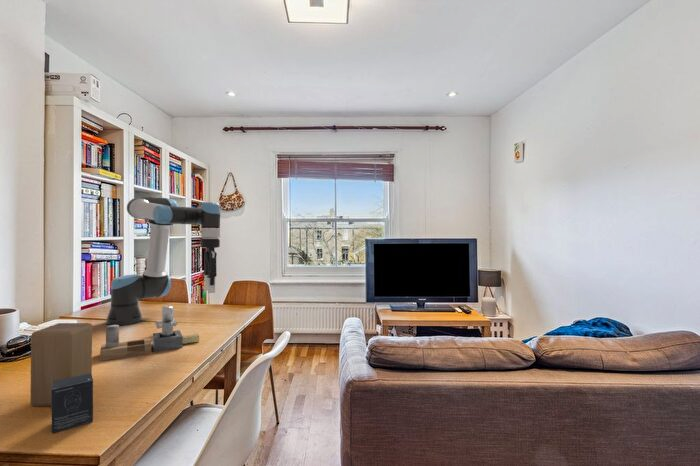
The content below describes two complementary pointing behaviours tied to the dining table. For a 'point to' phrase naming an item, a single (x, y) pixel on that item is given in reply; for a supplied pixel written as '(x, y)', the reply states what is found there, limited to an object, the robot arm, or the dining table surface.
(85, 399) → the box
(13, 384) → the dining table surface
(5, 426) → the dining table surface
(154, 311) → the dining table surface
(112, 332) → the rack
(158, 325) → the pipe connector
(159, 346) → the socket
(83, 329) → the block
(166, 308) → the grey metal bar
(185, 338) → the olive rectangular bar
